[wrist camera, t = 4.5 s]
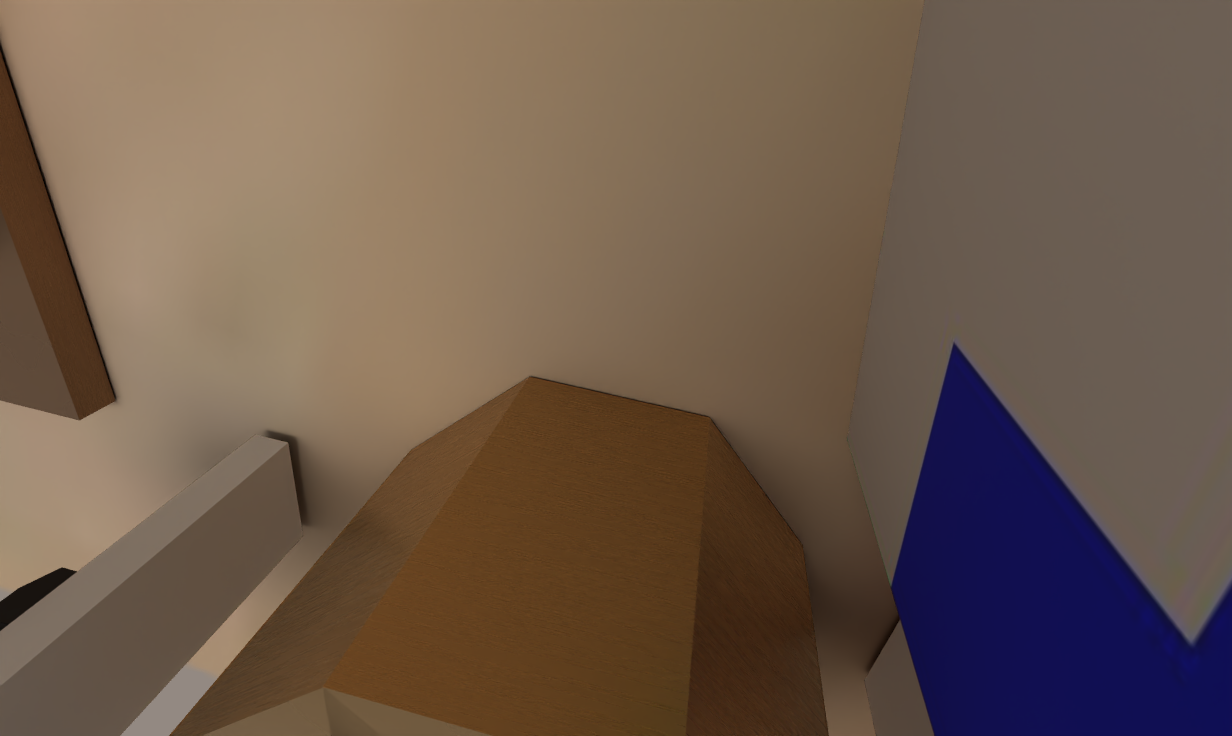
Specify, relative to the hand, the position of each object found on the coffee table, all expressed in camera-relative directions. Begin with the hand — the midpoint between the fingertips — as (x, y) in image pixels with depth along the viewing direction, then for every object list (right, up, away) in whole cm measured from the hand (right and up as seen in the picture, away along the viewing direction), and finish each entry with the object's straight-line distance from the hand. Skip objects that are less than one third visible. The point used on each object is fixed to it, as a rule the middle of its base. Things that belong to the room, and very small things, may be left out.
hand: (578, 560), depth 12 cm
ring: (0, 0, 0) cm, 0 cm away
